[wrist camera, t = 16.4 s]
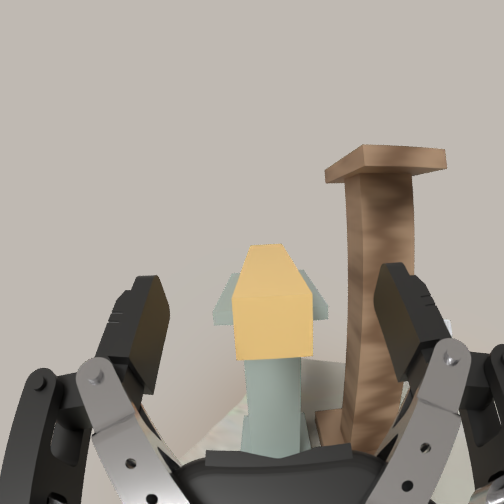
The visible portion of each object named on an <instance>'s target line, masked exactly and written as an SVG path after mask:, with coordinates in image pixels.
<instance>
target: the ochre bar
mask: <svg viewBox="0 0 504 504" xmlns="http://www.w3.org/2000/svg"><path fill="white" fill-rule="evenodd" d="M231 299H232V311H233V324H234V334H235V347H236V358H237V360H260V359H279V358H294V357H306V356H313V294H312V292H311V290H310V289H309V287H308V286H307V284H306V282H305V281H304V279H303V277H302V276H301V274H300V272H299V271H298V269H297V268H296V266H295V265H294V263H293V261H292V259H291V258H290V256H289V255H288V253H287V252H286V250H285V248H284V247H283V245H282V244H268V245H251V246H250V248H249V251H248V254H247V256H246V259H245V262H244V265H243V268H242V270H241V273H240V276H239V279H238V281H237V284H236V287H235V290H234V293H233V295H232V298H231Z"/></svg>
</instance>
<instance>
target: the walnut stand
mask: <svg viewBox="0 0 504 504" xmlns="http://www.w3.org/2000/svg"><path fill="white" fill-rule="evenodd" d="M443 169H447V163H446V154H445V149H434V148H423V147H409V146H390V145H361V146H360V147H358V148H357V149H355V150H354V151H352V152H351V153H349V154H348V155H346V156H345V157H344V158H342V159H340V160H339V161H338V162H336V163H334V164H333V165H332V166H330V167H329V168H327V169H326V170H325V182H326V183H345V197H346V215H347V242H348V323H347V349H346V351H347V352H346V367H345V382H344V395H343V406H342V408H341V409H333V410H325V411H315V422H316V427H317V431H318V435H319V440H320V444H321V446H330V445H337V444H344V443H351V448H352V450H357V451H362V452H366V453H369V454H372V455H374V454H375V453H376V451H377V449H378V447H379V446H380V444H381V443H382V441H383V440H384V438H385V437H386V435H387V433H388V432H389V430H390V428H391V426H392V424H393V422H394V420H395V418H396V416H397V414H398V410H399V405H400V400H401V394H402V388H403V382H399V383H398V381H397V378H396V374H395V371H394V367H393V364H392V361H391V358H390V354H389V351H388V348H387V345H386V342H385V339H384V336H383V333H382V330H381V327H380V324H379V321H378V318H377V315H376V312H375V309H374V301H373V298H374V292H375V288H376V284H377V279H378V275H379V271H380V267H381V265H382V264H383V263H395V262H402V263H403V264H404V265H405V267H406V269H407V271H408V273H409V275H414V205H413V187H412V176H415V175H419V174H424V173H429V172H433V171H438V170H443Z"/></svg>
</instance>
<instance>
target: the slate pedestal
mask: <svg viewBox="0 0 504 504" xmlns="http://www.w3.org/2000/svg"><path fill="white" fill-rule="evenodd" d="M298 271H299V272H300V274H301V276H302V277H303V279H304V281H305V282H306V284H307V286H308V287H309V289H310V290H311V292H312V294H313V320H323V319H328V305H327V303H326V302H325V300H324V299H323V297H322V296H321V295H320V293H319V292H318V290H317V289H316V287H315V286H314V284H313V283H312V281H311V280H310V279H309V277H308V276H307V274H306V273H305V271H304V270H298ZM239 276H240V273H234V274H232V275H231V277H230V279H229V281H228V283H227V285H226V287H225V289H224V291H223V293H222V295H221V296H220V298H219V300H218V302H217V305H216V306H215V309H214V310H213V320H214V325H234V324H233V311H232V299H231V298H232V295H233V293H234V290H235V287H236V284H237V281H238V279H239ZM244 365H245V377H246V390H247V402H248V413H249V416H244V421H243V431H242V441H241V451H243V452H248V453H252V454H257V455H262V456H267V457H272V458H284V457H287V456H290V455H293V454H297V453H300V452H303V451H306V450H309V449H311V446H310V441H309V435H308V430H307V425H306V419H305V414H304V413H300V412H301V357H294V358H279V359H260V360H244Z"/></svg>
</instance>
